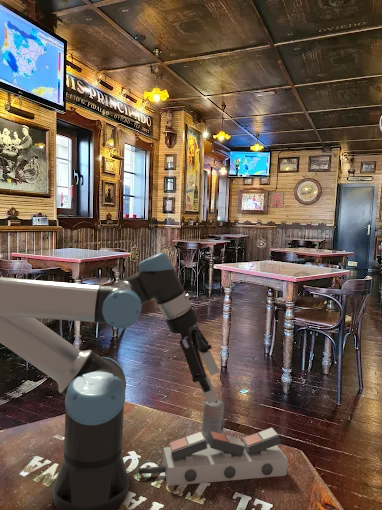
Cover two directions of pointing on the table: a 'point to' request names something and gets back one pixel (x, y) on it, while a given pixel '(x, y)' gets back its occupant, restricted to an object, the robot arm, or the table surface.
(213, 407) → the energy drink
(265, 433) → the rocker
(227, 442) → the rocker
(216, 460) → the power strip
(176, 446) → the rocker
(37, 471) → the table surface
